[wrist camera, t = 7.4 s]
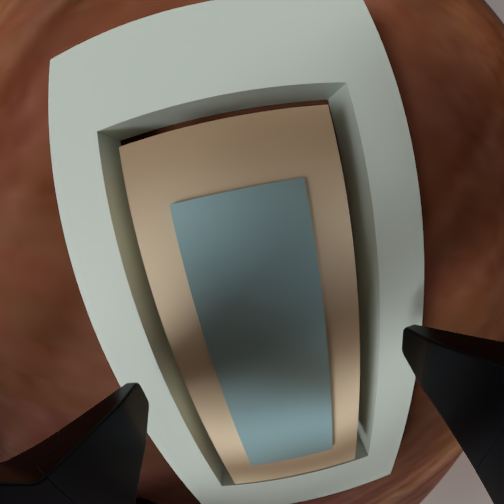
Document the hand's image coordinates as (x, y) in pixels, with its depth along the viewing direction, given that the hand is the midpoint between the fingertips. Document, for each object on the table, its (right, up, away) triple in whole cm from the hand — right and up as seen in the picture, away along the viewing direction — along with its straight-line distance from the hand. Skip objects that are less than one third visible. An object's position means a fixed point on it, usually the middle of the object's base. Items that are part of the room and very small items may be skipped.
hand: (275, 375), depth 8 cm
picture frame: (0, +1, +3) cm, 4 cm away
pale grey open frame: (0, +1, +3) cm, 3 cm away
